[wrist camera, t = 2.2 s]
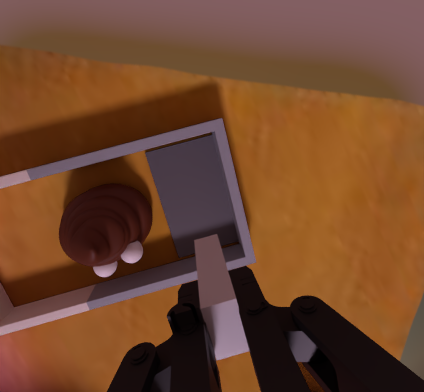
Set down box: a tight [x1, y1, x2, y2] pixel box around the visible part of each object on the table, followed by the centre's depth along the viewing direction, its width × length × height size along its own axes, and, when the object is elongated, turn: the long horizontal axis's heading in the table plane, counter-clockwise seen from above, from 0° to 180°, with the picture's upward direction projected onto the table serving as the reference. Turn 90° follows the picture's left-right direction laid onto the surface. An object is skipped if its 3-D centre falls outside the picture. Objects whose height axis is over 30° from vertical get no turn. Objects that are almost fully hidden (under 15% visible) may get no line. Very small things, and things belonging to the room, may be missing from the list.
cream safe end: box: [0, 165, 96, 335], centre depth 29 cm, size 11×16×4 cm
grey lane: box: [26, 118, 256, 310], centre depth 30 cm, size 19×16×4 cm
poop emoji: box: [59, 184, 152, 277], centre depth 27 cm, size 10×8×9 cm
